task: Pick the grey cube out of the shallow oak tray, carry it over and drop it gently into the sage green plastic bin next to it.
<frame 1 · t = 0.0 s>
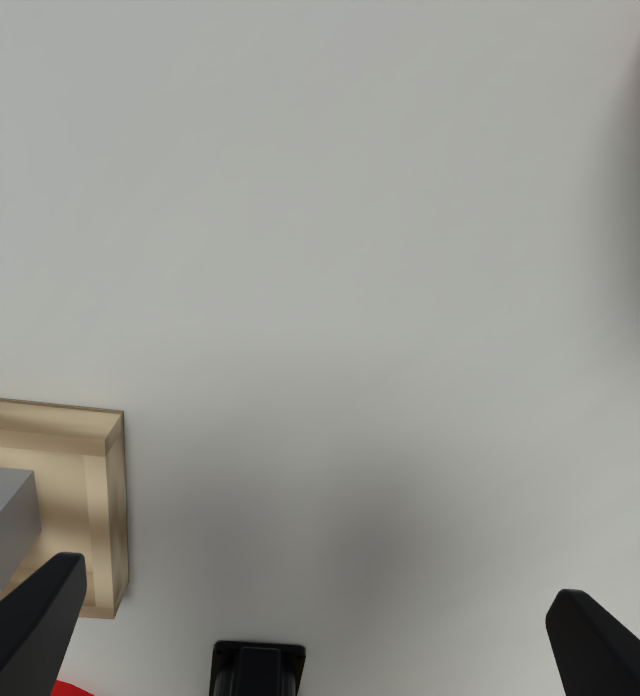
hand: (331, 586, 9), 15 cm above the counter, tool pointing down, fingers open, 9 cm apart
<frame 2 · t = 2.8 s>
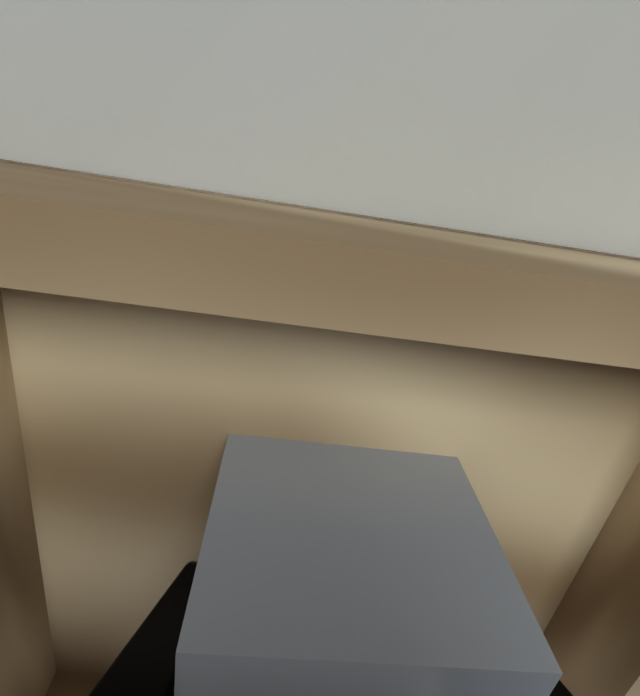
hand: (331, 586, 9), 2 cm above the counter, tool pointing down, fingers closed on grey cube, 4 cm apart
grey cube: (333, 621, 8), in the oak tray, touching gripper
oak tray: (326, 519, 10), on the counter
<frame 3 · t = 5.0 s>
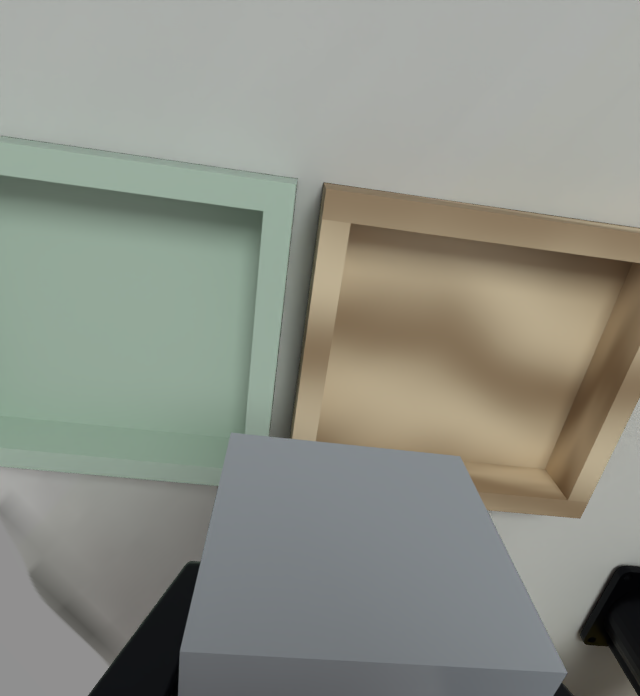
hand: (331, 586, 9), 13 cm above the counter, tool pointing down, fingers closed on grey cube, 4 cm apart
grey cube: (336, 620, 8), point 13 cm above the counter, touching gripper
oak tray: (456, 355, 21), on the counter
green bin: (116, 315, 19), on the counter
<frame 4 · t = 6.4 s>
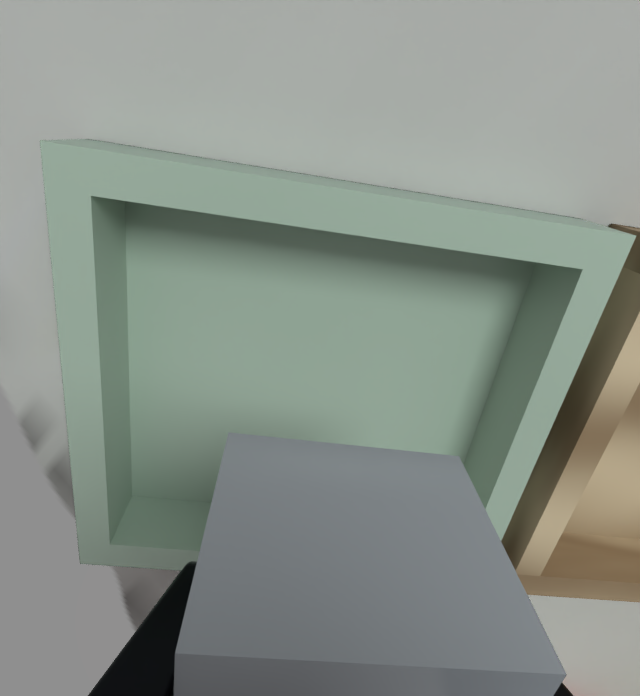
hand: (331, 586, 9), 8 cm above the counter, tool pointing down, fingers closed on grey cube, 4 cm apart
grey cube: (334, 621, 8), point 8 cm above the counter, touching gripper
green bin: (313, 381, 15), on the counter
when the fingers open (3 cm above the counter, at t = 7.5 s): grey cube drops 2 cm, resting on green bin.
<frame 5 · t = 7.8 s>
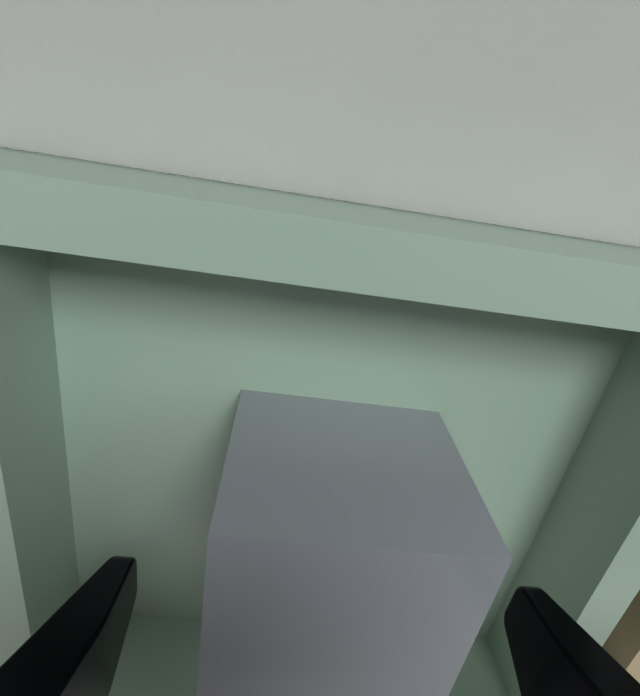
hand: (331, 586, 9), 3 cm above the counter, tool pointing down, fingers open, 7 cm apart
grey cube: (331, 545, 9), in the green bin
green bin: (321, 471, 11), on the counter
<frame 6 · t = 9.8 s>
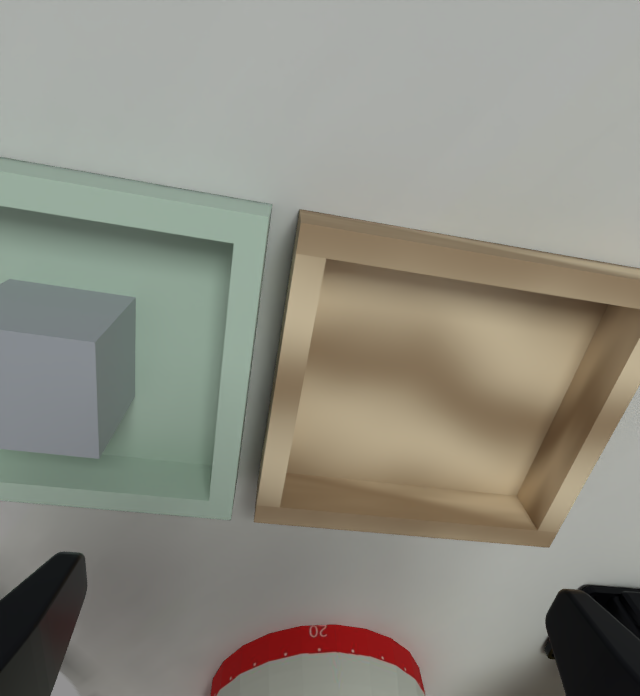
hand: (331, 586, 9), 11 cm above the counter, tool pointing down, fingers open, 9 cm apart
grey cube: (52, 365, 16), in the green bin
kitchen timer: (316, 685, 31), on the counter
oak tray: (432, 385, 20), on the counter
green bin: (77, 339, 18), on the counter
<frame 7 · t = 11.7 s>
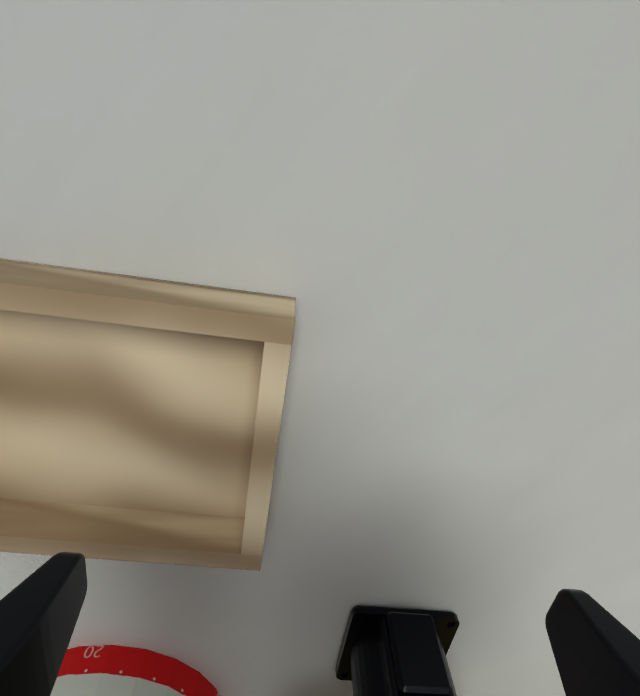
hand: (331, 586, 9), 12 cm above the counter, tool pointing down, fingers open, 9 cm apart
oak tray: (124, 412, 21), on the counter
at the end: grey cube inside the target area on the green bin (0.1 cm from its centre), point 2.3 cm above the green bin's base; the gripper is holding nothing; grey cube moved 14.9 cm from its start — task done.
